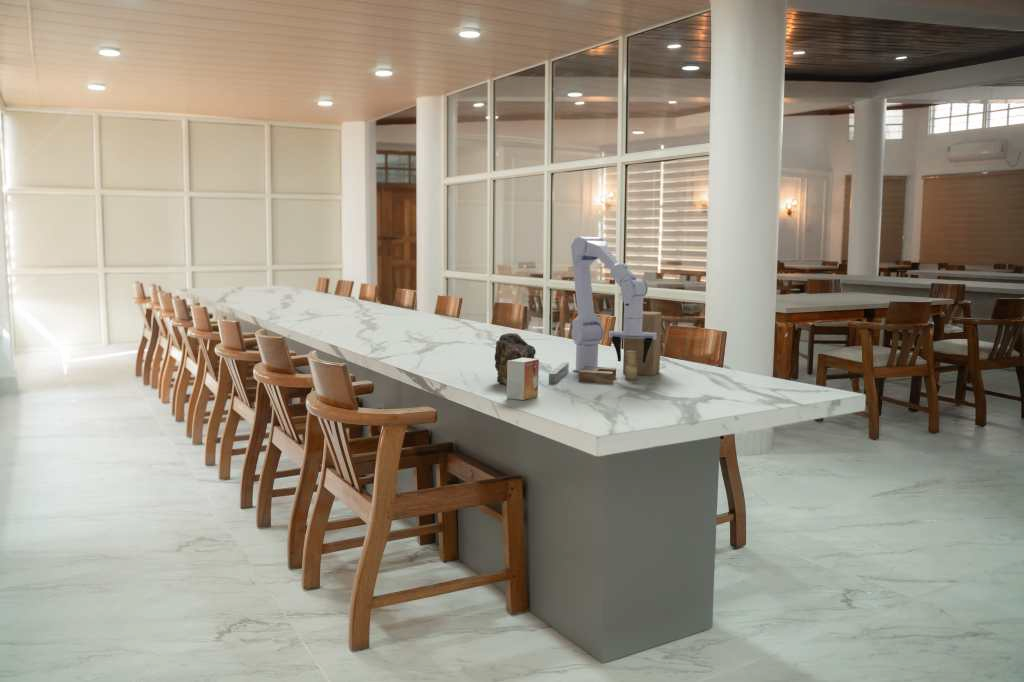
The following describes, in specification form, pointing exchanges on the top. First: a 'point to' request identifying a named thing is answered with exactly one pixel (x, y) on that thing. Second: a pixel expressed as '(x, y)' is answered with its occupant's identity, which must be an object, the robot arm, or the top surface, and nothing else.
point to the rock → (510, 353)
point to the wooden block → (652, 364)
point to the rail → (558, 373)
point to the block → (597, 374)
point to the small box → (522, 378)
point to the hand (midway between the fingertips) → (631, 361)
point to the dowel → (631, 365)
